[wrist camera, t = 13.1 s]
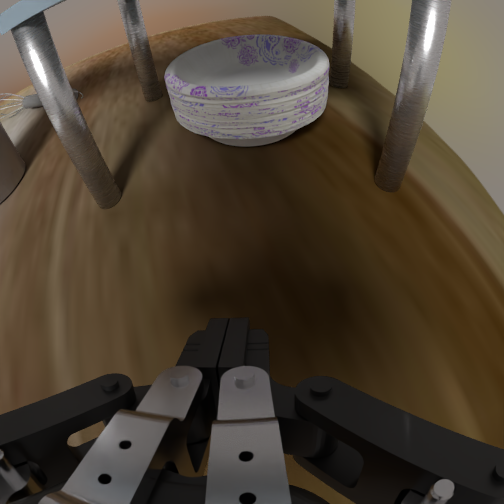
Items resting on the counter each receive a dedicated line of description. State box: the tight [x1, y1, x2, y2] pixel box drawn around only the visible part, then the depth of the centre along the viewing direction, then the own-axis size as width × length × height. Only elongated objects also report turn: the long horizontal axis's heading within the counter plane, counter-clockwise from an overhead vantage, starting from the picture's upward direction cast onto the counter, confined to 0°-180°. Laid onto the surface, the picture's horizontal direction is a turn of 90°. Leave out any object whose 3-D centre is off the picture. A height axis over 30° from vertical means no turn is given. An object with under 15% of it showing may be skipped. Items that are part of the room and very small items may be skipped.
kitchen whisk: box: [0, 89, 83, 118], centre depth 41 cm, size 6×34×6 cm, turn 76°
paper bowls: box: [164, 35, 329, 147], centre depth 27 cm, size 15×15×8 cm
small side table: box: [0, 0, 451, 209], centre depth 22 cm, size 22×27×20 cm
